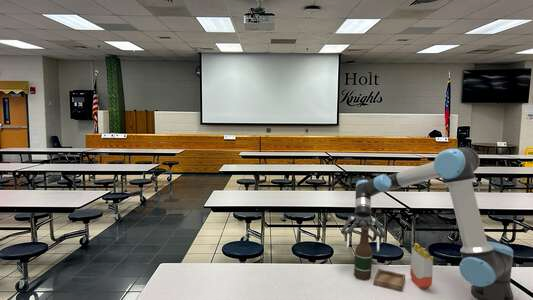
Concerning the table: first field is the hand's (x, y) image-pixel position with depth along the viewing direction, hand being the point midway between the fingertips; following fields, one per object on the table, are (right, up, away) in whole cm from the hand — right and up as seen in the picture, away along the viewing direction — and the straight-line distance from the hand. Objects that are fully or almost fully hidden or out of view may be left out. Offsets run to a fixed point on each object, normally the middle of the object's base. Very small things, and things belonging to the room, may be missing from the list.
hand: (362, 249), depth 163 cm
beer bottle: (0, -13, +1) cm, 13 cm away
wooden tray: (+11, -14, -4) cm, 18 cm away
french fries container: (+24, -15, -5) cm, 29 cm away
